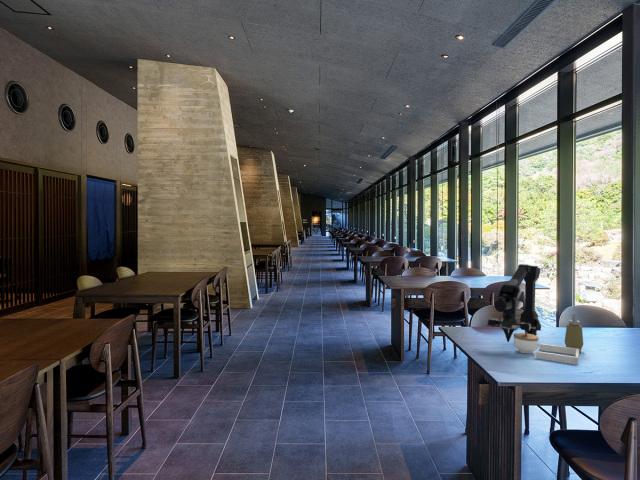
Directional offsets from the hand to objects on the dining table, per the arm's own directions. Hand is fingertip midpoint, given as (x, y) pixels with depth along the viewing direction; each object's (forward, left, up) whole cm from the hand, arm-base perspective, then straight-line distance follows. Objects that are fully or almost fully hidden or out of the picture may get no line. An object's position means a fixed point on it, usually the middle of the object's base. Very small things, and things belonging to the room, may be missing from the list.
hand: (508, 341), depth 211 cm
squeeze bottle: (-17, +27, -4) cm, 32 cm away
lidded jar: (0, +8, -4) cm, 8 cm away
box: (0, +21, -4) cm, 21 cm away
